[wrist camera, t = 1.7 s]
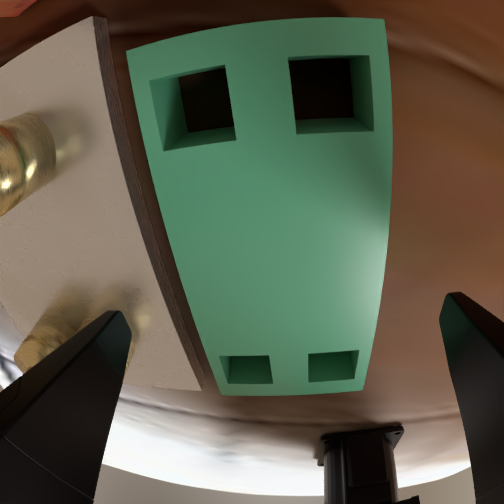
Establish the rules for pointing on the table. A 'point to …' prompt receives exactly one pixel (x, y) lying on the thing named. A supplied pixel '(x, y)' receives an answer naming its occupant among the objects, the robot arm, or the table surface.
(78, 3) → the table surface
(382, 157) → the board
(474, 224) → the table surface
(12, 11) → the cracker box
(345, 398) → the table surface
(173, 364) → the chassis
